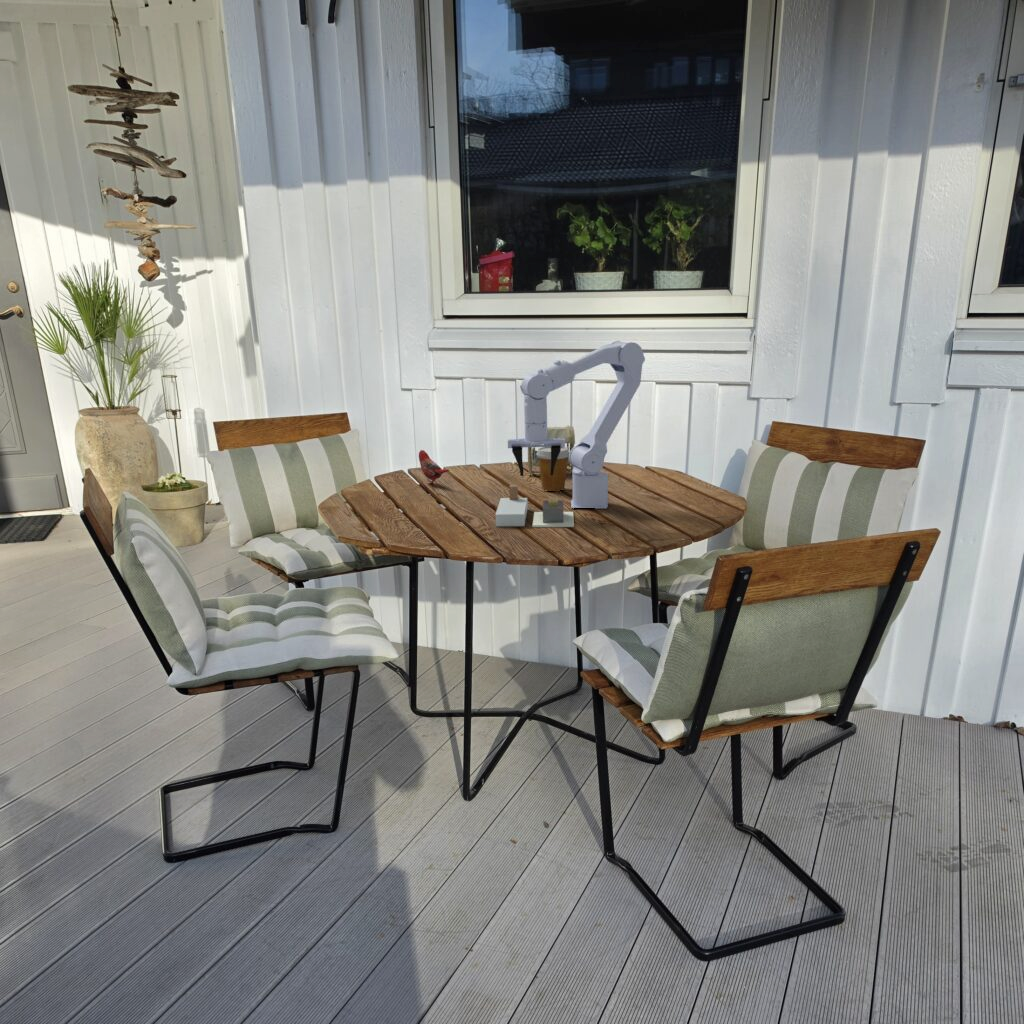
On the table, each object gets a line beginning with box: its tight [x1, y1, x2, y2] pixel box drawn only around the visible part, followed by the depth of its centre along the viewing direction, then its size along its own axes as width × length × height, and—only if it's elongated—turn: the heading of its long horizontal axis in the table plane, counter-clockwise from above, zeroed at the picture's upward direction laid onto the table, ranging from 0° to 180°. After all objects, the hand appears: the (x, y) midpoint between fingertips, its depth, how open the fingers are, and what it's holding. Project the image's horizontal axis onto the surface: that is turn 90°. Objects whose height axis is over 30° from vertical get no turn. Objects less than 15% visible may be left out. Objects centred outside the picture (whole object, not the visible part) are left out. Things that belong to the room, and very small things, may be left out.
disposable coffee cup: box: [536, 446, 570, 491], centre depth 216 cm, size 10×10×12 cm
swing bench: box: [527, 425, 576, 475], centre depth 238 cm, size 15×10×15 cm, turn 91°
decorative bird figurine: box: [418, 449, 450, 485], centre depth 226 cm, size 3×18×10 cm, turn 37°
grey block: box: [542, 496, 565, 523], centre depth 186 cm, size 5×8×4 cm, turn 176°
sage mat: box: [531, 511, 575, 528], centre depth 187 cm, size 10×12×1 cm
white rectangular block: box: [495, 484, 529, 527], centre depth 189 cm, size 7×16×6 cm, turn 176°
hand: (536, 474), depth 193 cm, fingers open, 7 cm apart
